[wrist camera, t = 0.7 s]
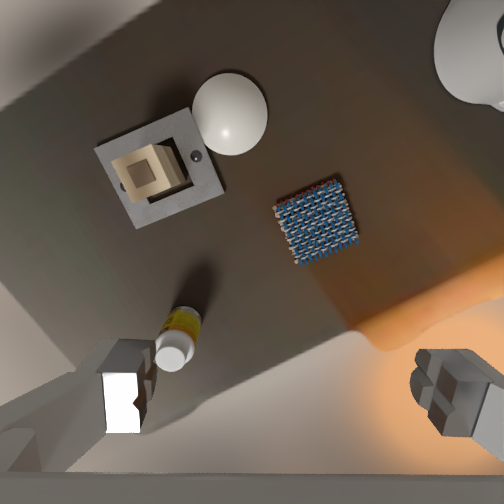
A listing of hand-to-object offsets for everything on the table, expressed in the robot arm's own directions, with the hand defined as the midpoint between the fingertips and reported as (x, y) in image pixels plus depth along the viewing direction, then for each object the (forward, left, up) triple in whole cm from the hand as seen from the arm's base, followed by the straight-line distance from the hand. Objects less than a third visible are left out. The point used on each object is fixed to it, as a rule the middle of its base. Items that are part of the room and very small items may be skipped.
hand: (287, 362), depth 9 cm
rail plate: (+9, -11, -37) cm, 39 cm away
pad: (-3, -12, -37) cm, 39 cm away
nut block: (+9, -11, -37) cm, 39 cm away
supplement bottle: (+20, +10, -37) cm, 43 cm away
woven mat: (-6, +7, -37) cm, 39 cm away
